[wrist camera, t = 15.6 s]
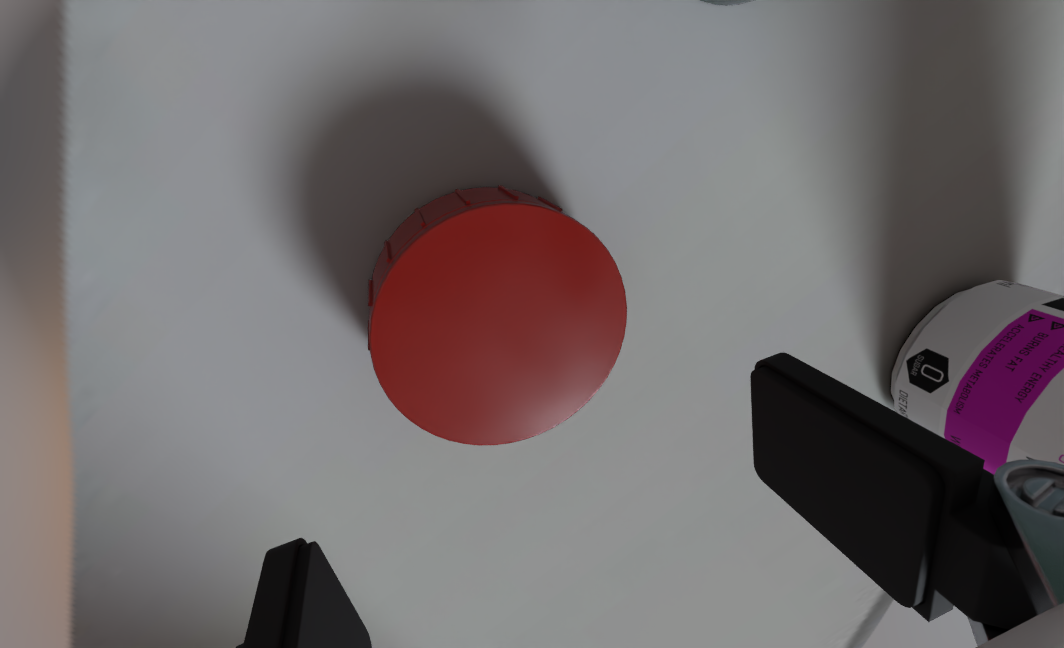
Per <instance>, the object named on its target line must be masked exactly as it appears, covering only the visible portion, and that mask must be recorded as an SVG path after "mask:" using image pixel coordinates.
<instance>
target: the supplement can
mask: <svg viewBox="0 0 1064 648" xmlns="http://www.w3.org/2000/svg"><path fill="white" fill-rule="evenodd" d="M891 394H892V396H893V399H894V407H895V409H896V412H897V413H898V414H900V415H902V416H904V417H906V418H908V419H910V420H911V421H913V422H915V423H917V424H919V425H921V426H922V427H924V428H926V429H928V430H930V431H932V432H934V433H935V434H937V435H939V436H941V437H943V438H945V439H947V440H948V441H950V442H952V443H954V444H956V445H958V446H959V447H961V448H963V449H965V450H967V451H969V452H971V453H972V454H974V455H976V456H978V457H980V458H982V459H984V460H985V462H984V467H983V469H985V470H987V471H989V472H990V473H992V474H995V472H996V470H997V468H998V467H1000V466H1001V465H1003V464H1005V463H1006V462H1011V461H1015V460H1043V461H1049V462H1055V463H1059V464H1062V465H1064V296H1062V295H1058V294H1055V293H1051V292H1047V291H1044V290H1040V289H1037V288H1033V287H1030V286H1026V285H1023V284H1019V283H1014V282H1009V281H1003V280H996V281H992V282H989V283H986V284H982V285H979V286H975V287H973V288H972V289H968V290H965V291H961V292H958V293H956V294H954V295H953V296H951V297H950V298H948V299H946V300H945V301H943V302H942V303H940V304H939V305H937V306H936V307H934V308H933V310H932V311H931V312H930V313H929V314H928V315H927V316H926V317H925V318H924V319H923V320H922V321H921V322H920V323H919V324H918V325H917V326H916V327H915V328H914V330H913V331H912V333H911V334H910V336H909V337H908V339H907V340H906V342H905V344H904V345H903V347H902V348H901V350H900V352H899V355H898V358H897V360H896V363H895V366H894V368H893V371H892V381H891Z"/></svg>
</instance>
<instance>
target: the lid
mask: <svg viewBox="0 0 1064 648" xmlns="http://www.w3.org/2000/svg"><path fill="white" fill-rule="evenodd" d="M561 211H562V209H561V208H559V207H558V206H556V205H554V204H552V203H550V202H549V201H547V200H545V199H543V198H541V197H539V196H538V198H535V197H533V196H531V195H529V194H526V193H522V192H519V191H516V190H511V189H506V188H505V187H503V186H501V185H498V187H480V188H471V189H465V190H461V191H460V190H459V189H456V190H455V192H453V193H450V194H447V195H445V196H443V197H440V198H438V199H435V200H434V201H432V202H430V203H428V204H427V205H425V206H423V207H421V208H420V209H418V208H416V209H415V213H414V214H412V215H411V216H410V217H408V218H407V219H406V220H405V221H404V222H403V223H402V224H401V225H400V226H399V227H398V228H397V229H396V231H395V232H394V233H393V235H392V236H391V237H390V239H389V240H388V241H387V240H385V242H384V248H383V250H382V252H381V254H380V256H379V258H378V261H377V263H376V266H375V269H374V272H373V276H372V280H369V281H368V306H369V320H368V350H370V354H371V358H372V362H373V367H374V370H375V373H376V375H377V378H378V380H379V383H380V385H381V387H382V388H383V390H384V392H385V393H386V395H387V397H388V398H389V399H390V401H391V402H392V403H393V404H394V406H395V407H396V408H397V409H398V410H399V411H400V412H401V413H402V414H403V415H404V416H405V417H406V418H408V419H409V420H410V421H411V422H413V423H414V424H416V425H417V426H419V427H420V428H422V429H423V430H425V431H427V432H429V433H431V434H433V435H435V436H438V437H441V438H444V439H447V440H449V441H454V442H458V443H463V444H472V445H499V444H506V443H512V442H516V441H520V440H525V439H527V438H530V437H533V436H536V435H539V434H541V433H543V432H545V431H547V430H549V429H552V428H553V427H555V426H557V425H558V424H560V423H562V422H563V421H565V420H566V419H568V418H569V417H570V416H572V415H573V414H574V413H576V412H577V411H578V410H579V409H580V408H582V407H583V406H584V405H585V404H586V403H587V402H588V401H589V400H590V399H591V398H592V397H593V395H594V394H595V393H596V392H597V391H598V390H599V388H600V387H601V386H602V384H603V383H604V381H605V380H606V378H607V377H608V375H609V373H610V371H611V370H612V368H613V366H614V364H615V362H616V359H617V357H618V355H619V352H620V349H621V346H622V342H623V339H624V334H625V327H626V318H627V305H626V296H625V289H624V286H623V282H622V278H621V275H620V273H619V270H618V268H617V265H616V263H615V261H614V260H613V258H612V256H611V255H610V253H609V251H608V250H607V248H606V247H605V246H604V245H603V244H602V242H601V241H600V240H599V239H598V238H597V237H596V236H595V234H594V233H592V232H591V231H590V230H589V229H588V228H586V227H585V226H584V225H582V224H581V223H579V222H578V221H576V220H575V219H573V218H571V217H570V216H568V215H566V214H564V213H563V212H561Z"/></svg>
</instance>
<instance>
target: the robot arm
mask: <svg viewBox="0 0 1064 648" xmlns="http://www.w3.org/2000/svg"><path fill="white" fill-rule="evenodd" d="M751 402H752V429H753V455H754V467H755V470H756V472H757V474H758V476H759V477H760V479H761V480H762V481H763V482H764V483H765V484H766V485H767V486H769V487H770V488H771V489H772V490H773V491H774V492H775V493H776V494H778V495H779V496H780V497H781V498H782V499H783V500H784V501H785V502H786V503H788V504H789V505H790V506H791V507H792V508H793V509H794V510H795V511H796V512H798V513H799V514H800V515H801V516H802V517H803V518H804V519H805V520H806V521H808V522H809V523H810V524H811V525H812V526H813V527H814V528H815V529H816V530H818V531H819V532H820V533H821V534H822V535H823V536H824V537H825V538H826V539H828V540H829V541H830V542H831V543H832V544H833V545H834V546H835V547H836V548H838V549H839V550H840V551H841V552H842V553H843V554H844V555H845V556H847V557H848V558H849V559H850V560H851V561H852V562H853V563H854V564H855V565H857V566H858V567H859V568H860V569H861V570H862V571H863V572H864V573H865V574H867V575H868V576H869V577H870V578H871V579H872V580H873V581H874V582H875V583H877V584H878V585H879V586H880V587H881V588H882V589H883V590H884V591H885V592H887V593H888V594H889V595H890V596H891V597H892V598H893V599H894V600H896V601H897V602H898V603H900V604H901V605H903V606H905V607H908V608H911V607H912V608H913V609H914V610H916V611H917V612H918V613H919V614H920V615H921V616H922V617H924V618H925V619H926V620H927V621H928V622H930V621H931V620H934V619H935V618H937V617H939V616H941V615H943V614H945V613H947V612H949V611H950V610H952V609H953V605H954V606H955V607H957V608H958V609H959V610H960V611H962V612H963V613H964V614H965V615H966V616H967V617H968V620H969V622H970V625H971V628H972V631H973V634H974V637H975V640H976V643H977V646H978V647H976V648H1064V465H1062V464H1059V463H1055V462H1049V461H1043V460H1015V461H1011V462H1006V463H1005V464H1003V465H1001V466H1000V467H998V468H997V470H996V472H995V474H992V473H990V472H989V471H987V470H985V469H983V467H984V462H985V460H984V459H982V458H980V457H978V456H976V455H974V454H972V453H971V452H969V451H967V450H965V449H963V448H961V447H959V446H958V445H956V444H954V443H952V442H950V441H948V440H947V439H945V438H943V437H941V436H939V435H937V434H935V433H934V432H932V431H930V430H928V429H926V428H924V427H922V426H921V425H919V424H917V423H915V422H913V421H911V420H910V419H908V418H906V417H904V416H902V415H900V414H898V413H897V412H895V411H893V410H891V409H889V408H887V407H885V406H884V405H882V404H880V403H878V402H876V401H874V400H872V399H871V398H869V397H867V396H865V395H863V394H861V393H860V392H858V391H856V390H854V389H852V388H850V387H848V386H847V385H845V384H843V383H841V382H839V381H837V380H835V379H834V378H832V377H830V376H828V375H826V374H824V373H822V372H821V371H819V370H817V369H815V368H813V367H811V366H810V365H808V364H806V363H804V362H802V361H800V360H798V359H797V358H795V357H793V356H791V355H789V354H787V353H778V354H776V355H773V356H771V357H768V358H765V359H763V360H760V361H758V362H757V363H756V365H755V370H754V371H752V373H751ZM236 648H372V645H371V640H370V636H369V633H368V631H367V629H366V627H365V626H364V624H363V622H362V620H361V619H360V617H359V615H358V613H357V612H356V610H355V608H354V606H353V604H352V603H351V601H350V599H349V597H348V596H347V594H346V592H345V590H344V589H343V587H342V585H341V583H340V582H339V580H338V578H337V576H336V575H335V573H334V571H333V569H332V568H331V566H330V564H329V562H328V560H327V559H326V557H325V555H324V553H323V552H322V550H321V548H320V546H319V545H318V544H317V543H316V542H315V541H314V542H311V543H308V544H307V542H306V541H305V540H304V539H303V538H299V539H296V540H293V541H291V542H288V543H286V544H283V545H280V546H278V547H275V548H273V549H270V550H269V551H268V552H267V553H266V555H265V558H264V562H263V566H262V570H261V575H260V579H259V583H258V587H257V591H256V595H255V599H254V603H253V607H252V612H251V616H250V620H249V624H248V628H247V632H246V636H245V640H244V643H243V644H241V645H238V646H237V647H236Z"/></svg>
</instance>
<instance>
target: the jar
mask: <svg viewBox="0 0 1064 648" xmlns="http://www.w3.org/2000/svg"><path fill="white" fill-rule="evenodd" d="M701 1H704V2H707V3H711V4H715V5H726V6H727V5H739V4H743V3H747V2H750V1H754V0H701Z"/></svg>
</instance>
